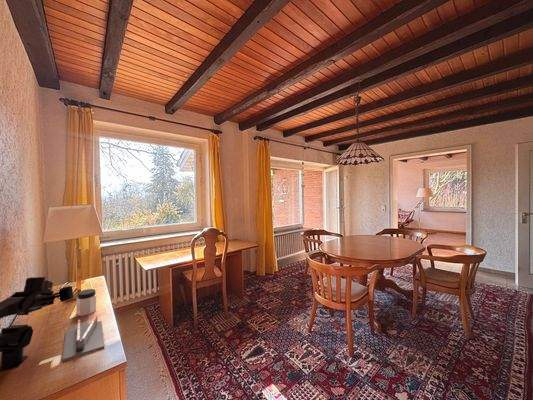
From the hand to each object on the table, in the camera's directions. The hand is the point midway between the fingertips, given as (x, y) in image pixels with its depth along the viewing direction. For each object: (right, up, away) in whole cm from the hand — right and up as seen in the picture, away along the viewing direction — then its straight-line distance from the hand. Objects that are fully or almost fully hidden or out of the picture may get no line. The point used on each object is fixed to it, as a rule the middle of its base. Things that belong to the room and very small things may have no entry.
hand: (62, 297), depth 114 cm
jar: (-1, -16, +16) cm, 23 cm away
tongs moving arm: (+19, -15, -7) cm, 25 cm away
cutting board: (+19, -16, -9) cm, 26 cm away
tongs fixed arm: (+17, -15, -10) cm, 25 cm away
